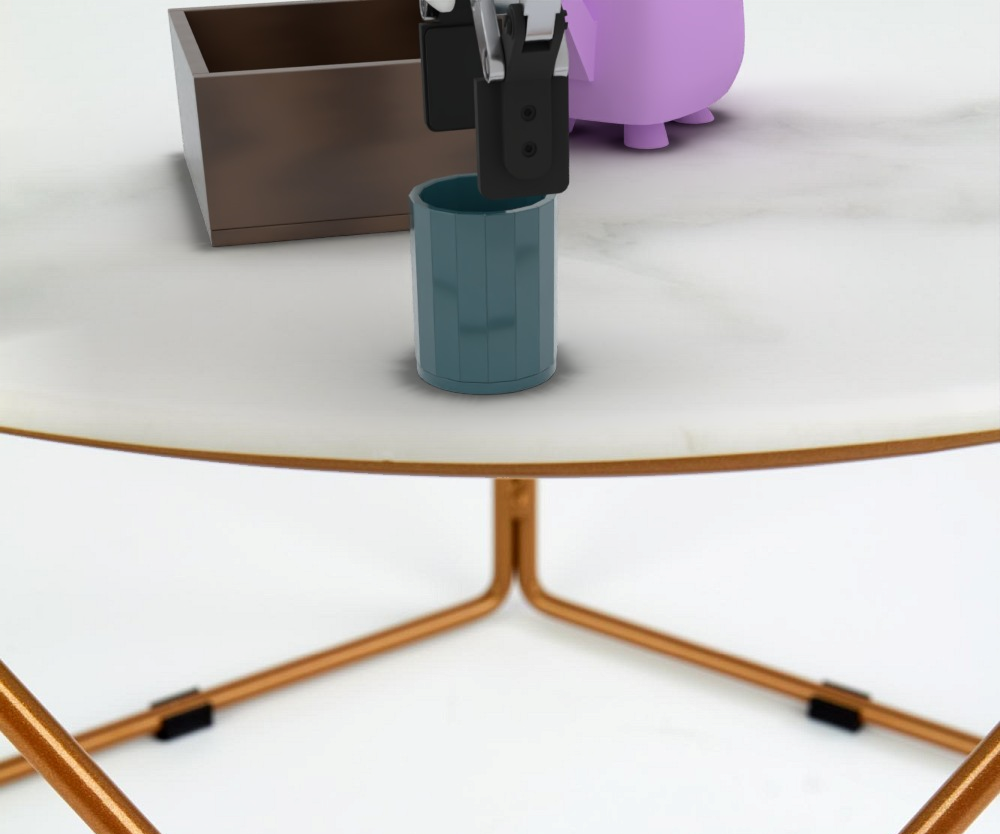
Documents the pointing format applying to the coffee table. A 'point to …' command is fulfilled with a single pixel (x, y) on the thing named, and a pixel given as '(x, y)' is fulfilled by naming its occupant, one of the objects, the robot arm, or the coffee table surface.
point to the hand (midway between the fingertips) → (492, 158)
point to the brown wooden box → (307, 117)
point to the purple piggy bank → (651, 62)
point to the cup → (483, 287)
